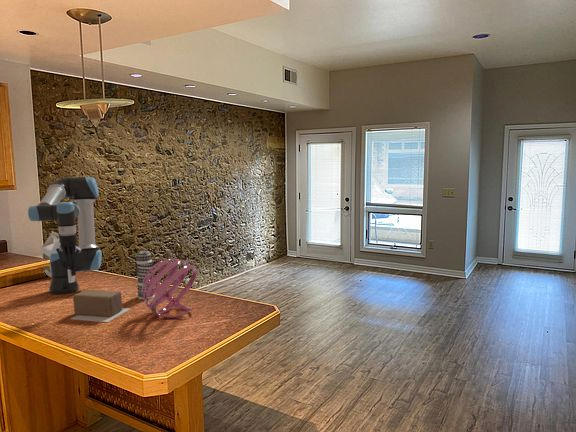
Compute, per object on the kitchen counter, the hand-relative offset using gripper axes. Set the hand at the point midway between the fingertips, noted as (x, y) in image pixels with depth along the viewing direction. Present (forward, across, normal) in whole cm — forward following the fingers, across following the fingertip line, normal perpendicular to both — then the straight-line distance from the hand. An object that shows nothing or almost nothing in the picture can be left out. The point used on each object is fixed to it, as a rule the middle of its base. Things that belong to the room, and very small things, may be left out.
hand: (71, 281), depth 214 cm
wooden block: (+10, +3, 0) cm, 10 cm away
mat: (+15, +15, 0) cm, 22 cm away
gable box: (+16, -62, +62) cm, 89 cm away
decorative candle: (+16, +23, +27) cm, 39 cm away
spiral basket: (+15, +48, +7) cm, 51 cm away
